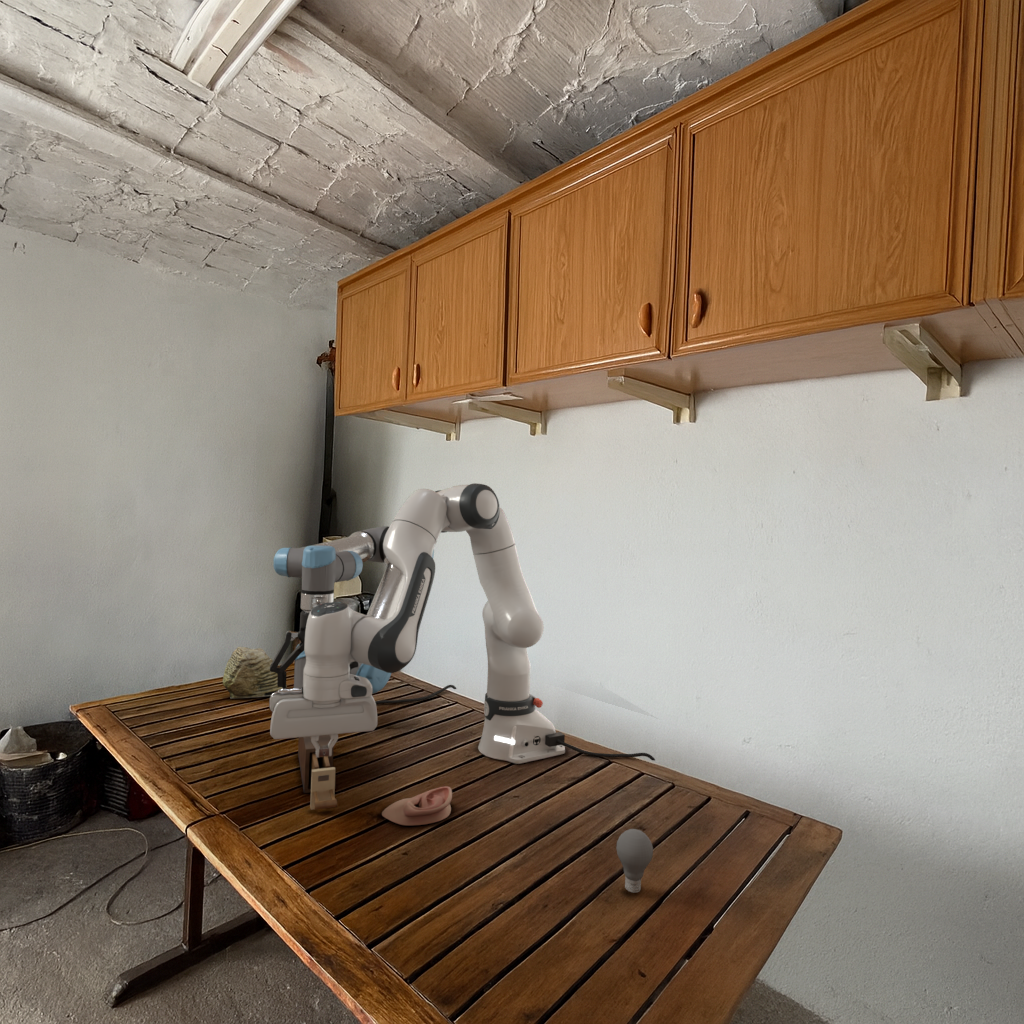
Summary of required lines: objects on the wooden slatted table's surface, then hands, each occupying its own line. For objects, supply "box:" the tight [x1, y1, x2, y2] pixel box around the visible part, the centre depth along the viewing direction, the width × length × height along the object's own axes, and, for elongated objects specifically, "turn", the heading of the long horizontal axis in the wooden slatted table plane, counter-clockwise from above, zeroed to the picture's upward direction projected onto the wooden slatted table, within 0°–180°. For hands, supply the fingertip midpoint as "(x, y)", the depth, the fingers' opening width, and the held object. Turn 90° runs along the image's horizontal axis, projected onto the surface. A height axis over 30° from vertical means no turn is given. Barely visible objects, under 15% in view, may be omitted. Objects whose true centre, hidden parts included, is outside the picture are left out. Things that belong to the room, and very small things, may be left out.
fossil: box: [222, 646, 288, 699], centre depth 198 cm, size 9×18×15 cm, turn 132°
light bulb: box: [615, 828, 654, 894], centre depth 106 cm, size 6×6×10 cm
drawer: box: [309, 752, 338, 811], centre depth 134 cm, size 26×4×8 cm, turn 22°
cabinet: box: [297, 735, 334, 794], centre depth 146 cm, size 22×6×10 cm, turn 22°
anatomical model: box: [381, 785, 453, 827], centre depth 129 cm, size 13×4×12 cm
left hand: (313, 698), depth 152 cm, fingers open, 13 cm apart
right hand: (323, 755), depth 125 cm, fingers closed
